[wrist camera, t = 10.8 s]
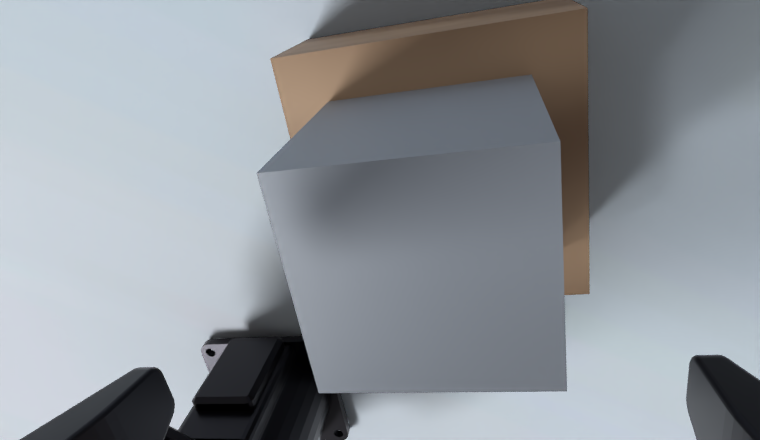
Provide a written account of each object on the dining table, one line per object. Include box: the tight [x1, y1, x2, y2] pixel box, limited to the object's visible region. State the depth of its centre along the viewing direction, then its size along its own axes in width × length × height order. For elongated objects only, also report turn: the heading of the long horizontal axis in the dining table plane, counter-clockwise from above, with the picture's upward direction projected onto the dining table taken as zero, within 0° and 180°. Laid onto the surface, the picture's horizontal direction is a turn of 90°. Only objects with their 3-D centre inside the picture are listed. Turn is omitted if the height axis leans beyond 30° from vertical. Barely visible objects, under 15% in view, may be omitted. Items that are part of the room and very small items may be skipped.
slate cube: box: [257, 74, 567, 393], centre depth 14 cm, size 6×6×6 cm
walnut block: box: [271, 0, 589, 295], centre depth 19 cm, size 9×9×4 cm
